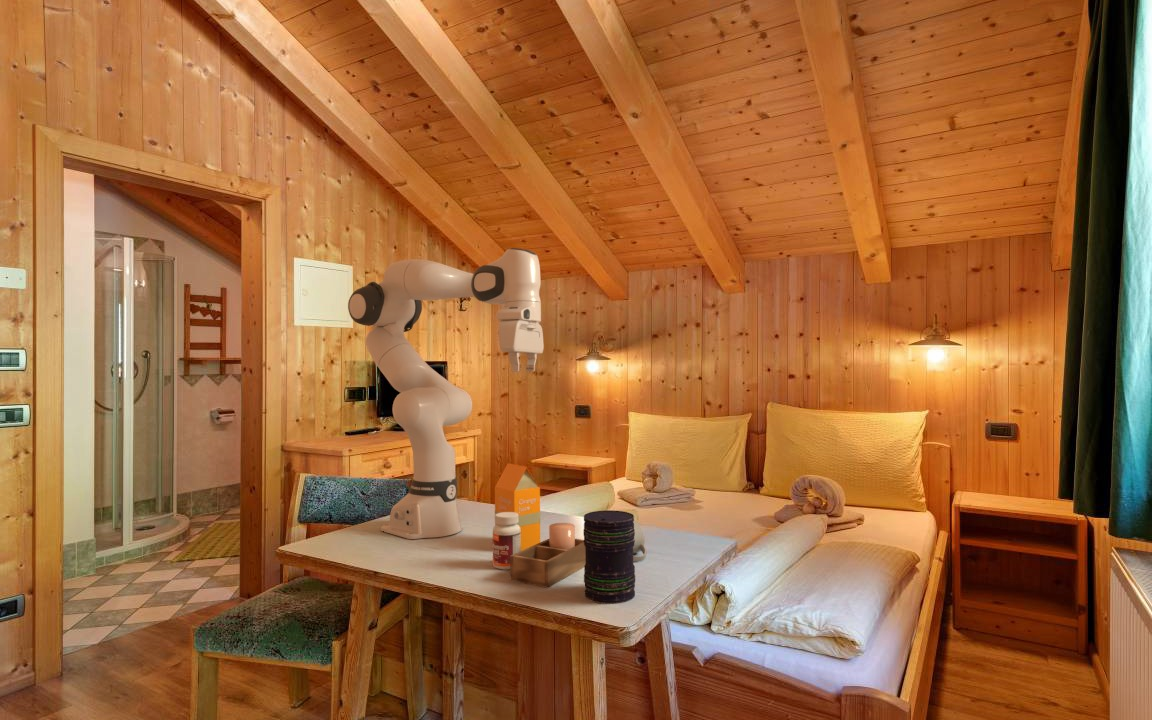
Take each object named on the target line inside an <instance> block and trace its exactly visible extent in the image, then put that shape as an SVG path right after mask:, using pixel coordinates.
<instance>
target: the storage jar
mask: <svg viewBox="0 0 1152 720" xmlns="http://www.w3.org/2000/svg"><path fill="white" fill-rule="evenodd" d="M583 521H584V523H583V540H584V546H585V556H586V564H585V566H584V568H583V569H584V574H583V582H584V588H585V589H584V597H585V598H586V599H588V600H589V601H592V602H595V603H597V604H606V605H609V604H610V605H614V604H615V605H616V604H622V603H627V602H629V601H631V600H633V599H634V598H635V597H636V591H635V587H636V586H635V585H636V584H635V583H636V574H635V573H636V568H635V567H636V566H635V564H634V562H633V556H634V554H633V546H634V542H635V540H634V536H635V530H634V523H633V521H635V515H634V514H632V513H631V512H628V511H621V510H610V509H609V510H607V509H606V510H597V511H596V510H594V511H590V512H588V513H585V514H583Z"/></svg>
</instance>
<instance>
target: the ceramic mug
mask: <svg viewBox="0 0 1152 720" xmlns="http://www.w3.org/2000/svg"><path fill="white" fill-rule="evenodd" d="M633 523H634V530H635V536H634V540H635V542H634V546H633V563H638V562H637V561H640V562H643V561H644V560H645V559H646V556H647V549H646V547H645V542H646V540H645V534H644V531H643V529H642V527H641V524H639V523H638V522H637V521H636V520H634V521H633ZM639 552H641V553H642V555H634V554H637V553H639ZM642 560H643V561H642Z"/></svg>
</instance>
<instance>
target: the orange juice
mask: <svg viewBox="0 0 1152 720" xmlns="http://www.w3.org/2000/svg"><path fill="white" fill-rule="evenodd" d="M502 512H515V513H518V519H519V522H518V523H516V524H517V525H518V526H519V527H520V530H521V551H522V550H524V549H527V548H529V547H531V546H534V545H536V544H538V543H540V542H541V487H540V485H539V483H538V482H537V480H536V479H535V478H534V476H533V474H532V472H531V471H530V469H529V467H528V466H527V465H521V464H517V463H516V464H515V463H512V462H511V463H510V462H507V464H506V466H505V467H504V469H503V471H502V473H501V475H500V477H499V479H498V481H497V483H496V484H495V486H494V516H495V515H496V514H497V513H502ZM494 524H495V525H494V527H495V526H496V525H497V524H496V523H495V522H494Z"/></svg>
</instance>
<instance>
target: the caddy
mask: <svg viewBox="0 0 1152 720" xmlns="http://www.w3.org/2000/svg"><path fill="white" fill-rule="evenodd" d="M585 564H586V556H585V546H584V539H580V538H575V547H573V548H571V549H569V550H566V549H559V548H553V547H549V538H548V539H545V540H543V541H540V543H538V544H536V545H534V546H531V547H529V548H527V549H524V550H522V551H520V552H518V553H515V554H513V555H511V556H510V569H509V571H510V572H509V575H510V576H509V579H510V581H512V582H517V583H522V584H527V585H532V584H533V586H539V587H542V586H543V587H544V588H547V587H548V588H550V587H552V586H553V585H555V584H557V583H559V582H561V581H563V580H565V579H566V578H567V577H569V576H570V577H571V575H573V574H575V573H577V572H578V571H580V570H583V569H584V566H585ZM560 580H561V581H560ZM543 587H542V588H543Z"/></svg>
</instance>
